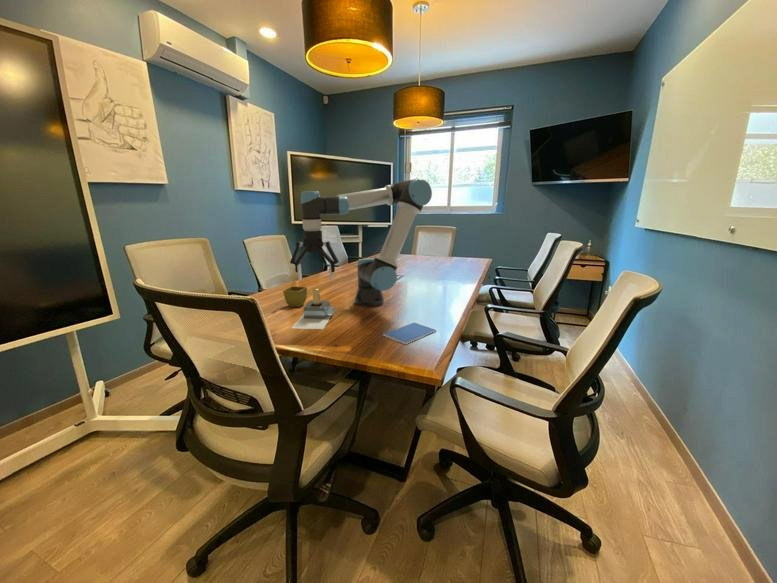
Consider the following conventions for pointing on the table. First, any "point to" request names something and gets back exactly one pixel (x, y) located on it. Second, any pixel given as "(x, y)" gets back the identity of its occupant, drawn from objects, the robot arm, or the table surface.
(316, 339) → the table surface
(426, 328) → the tablet computer
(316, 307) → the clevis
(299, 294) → the flower pot
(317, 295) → the brass pin
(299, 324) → the mounting plate
